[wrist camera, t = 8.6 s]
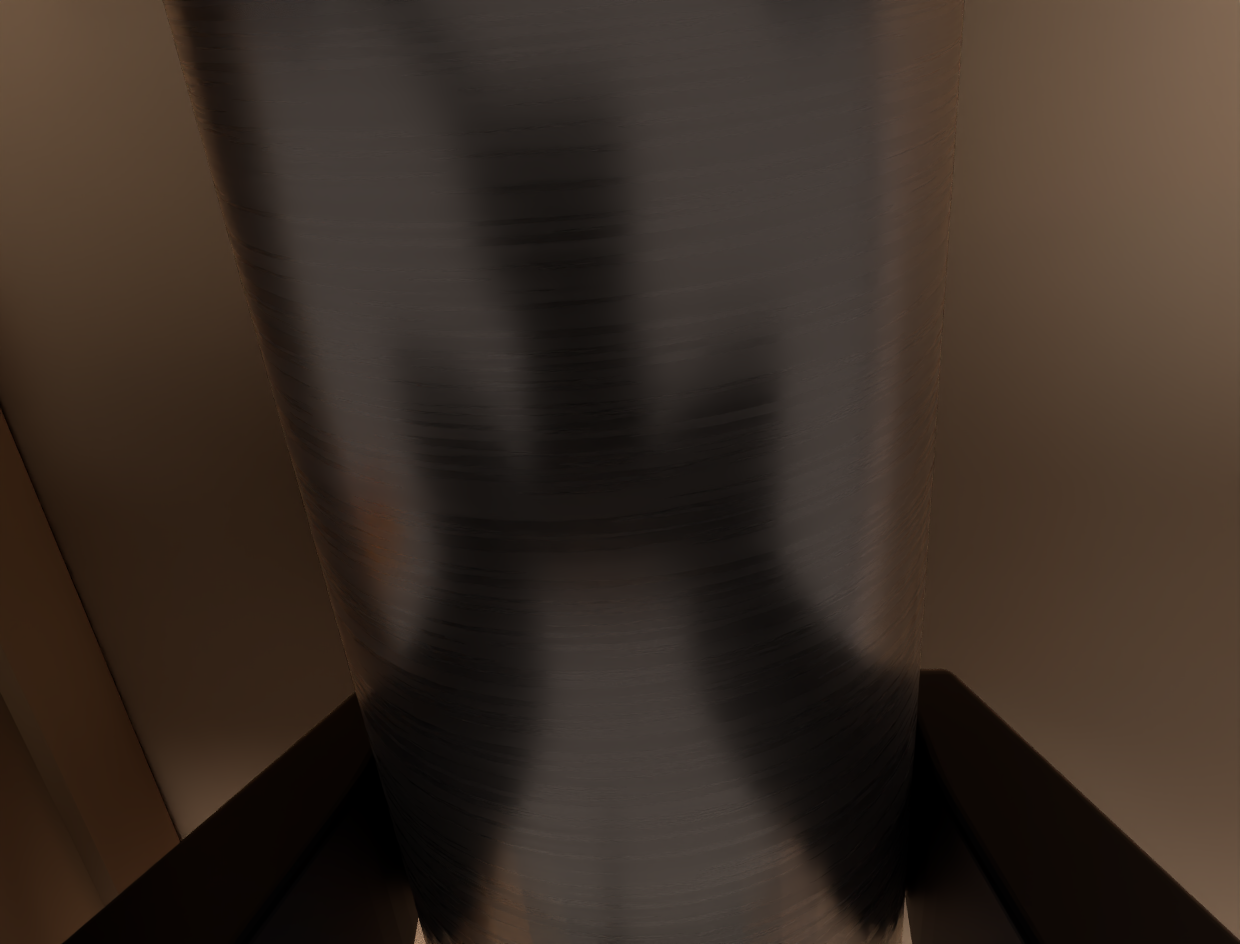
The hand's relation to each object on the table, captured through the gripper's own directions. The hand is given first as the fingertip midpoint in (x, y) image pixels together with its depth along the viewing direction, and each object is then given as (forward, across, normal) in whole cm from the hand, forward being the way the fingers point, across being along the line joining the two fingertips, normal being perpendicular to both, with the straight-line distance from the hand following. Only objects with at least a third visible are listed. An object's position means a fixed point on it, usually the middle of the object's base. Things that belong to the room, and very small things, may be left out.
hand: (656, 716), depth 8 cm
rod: (+1, 0, -3) cm, 3 cm away
